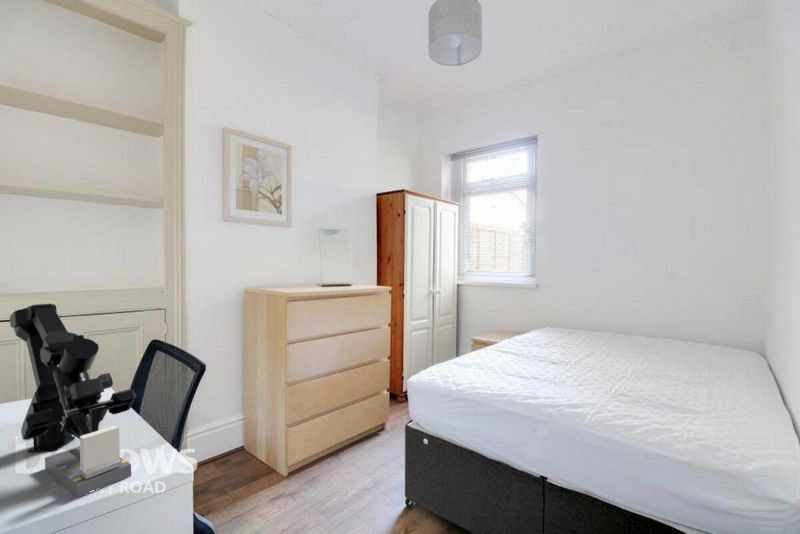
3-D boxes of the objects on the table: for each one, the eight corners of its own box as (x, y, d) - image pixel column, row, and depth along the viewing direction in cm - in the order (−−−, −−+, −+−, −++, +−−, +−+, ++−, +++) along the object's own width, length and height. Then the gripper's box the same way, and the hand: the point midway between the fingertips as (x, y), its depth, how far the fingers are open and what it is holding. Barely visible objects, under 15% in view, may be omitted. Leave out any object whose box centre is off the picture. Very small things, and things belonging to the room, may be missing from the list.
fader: (78, 473, 75) (78, 435, 75) (113, 460, 80) (113, 424, 80) (86, 479, 73) (85, 439, 73) (121, 465, 78) (121, 428, 78)
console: (45, 468, 83) (44, 457, 83) (95, 451, 90) (94, 440, 90) (77, 498, 72) (77, 484, 72) (131, 475, 79) (131, 463, 79)
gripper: (24, 375, 74) (42, 444, 68) (132, 355, 89) (154, 410, 83) (14, 406, 78) (30, 474, 72) (118, 382, 94) (139, 436, 88)
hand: (93, 446), depth 79 cm, fingers closed
